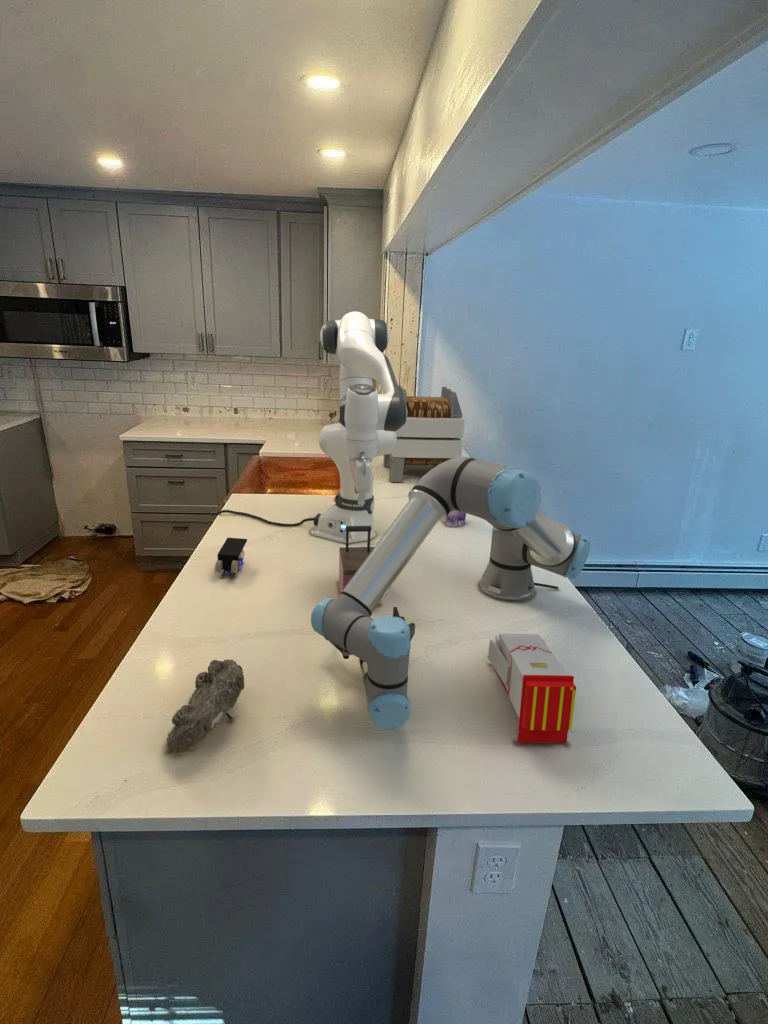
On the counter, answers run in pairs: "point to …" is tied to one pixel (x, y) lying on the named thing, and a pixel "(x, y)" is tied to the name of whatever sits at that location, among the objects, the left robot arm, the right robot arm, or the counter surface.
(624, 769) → the counter surface
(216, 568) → the black toy vehicle
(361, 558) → the lid
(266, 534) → the counter surface
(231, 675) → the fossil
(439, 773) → the counter surface
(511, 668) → the toy
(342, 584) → the chest
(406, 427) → the transformer
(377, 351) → the left robot arm
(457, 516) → the figurine
